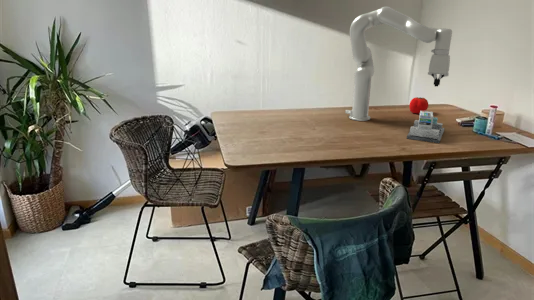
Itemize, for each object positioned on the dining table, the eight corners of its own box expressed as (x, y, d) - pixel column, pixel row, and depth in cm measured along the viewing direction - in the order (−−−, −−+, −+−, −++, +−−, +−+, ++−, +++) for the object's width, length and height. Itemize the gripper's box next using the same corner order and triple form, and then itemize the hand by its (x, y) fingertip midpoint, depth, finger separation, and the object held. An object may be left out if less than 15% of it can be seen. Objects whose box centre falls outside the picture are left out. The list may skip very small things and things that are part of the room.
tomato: (403, 111, 274) (405, 96, 270) (418, 110, 279) (420, 94, 276) (416, 116, 264) (419, 99, 261) (431, 114, 270) (434, 98, 266)
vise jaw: (413, 128, 233) (415, 117, 231) (415, 125, 238) (416, 115, 236) (440, 132, 227) (442, 121, 225) (442, 129, 232) (443, 118, 230)
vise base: (406, 138, 221) (407, 127, 219) (414, 126, 242) (415, 116, 240) (439, 143, 215) (441, 132, 213) (444, 130, 236) (445, 120, 234)
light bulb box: (430, 136, 220) (433, 116, 216) (417, 135, 222) (419, 115, 218) (430, 130, 230) (433, 111, 226) (417, 129, 232) (420, 110, 228)
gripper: (425, 52, 230) (421, 85, 236) (455, 54, 223) (450, 88, 230) (427, 50, 236) (423, 83, 242) (456, 52, 230) (451, 86, 236)
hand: (436, 86), depth 236 cm, fingers closed
